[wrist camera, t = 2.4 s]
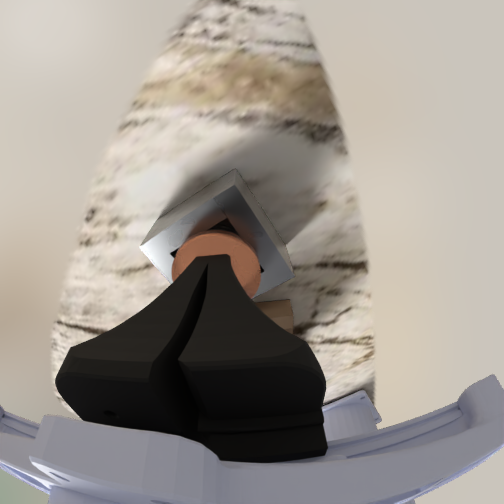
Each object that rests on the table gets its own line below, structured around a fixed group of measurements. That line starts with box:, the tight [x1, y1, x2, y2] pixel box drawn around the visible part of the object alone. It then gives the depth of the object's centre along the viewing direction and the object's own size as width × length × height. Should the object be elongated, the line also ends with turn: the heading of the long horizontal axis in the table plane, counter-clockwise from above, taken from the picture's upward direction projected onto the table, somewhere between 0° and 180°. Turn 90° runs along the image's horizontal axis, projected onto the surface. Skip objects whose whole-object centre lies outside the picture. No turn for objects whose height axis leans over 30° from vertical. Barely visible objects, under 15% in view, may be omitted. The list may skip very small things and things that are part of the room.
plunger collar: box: [139, 168, 295, 299], centre depth 14 cm, size 5×5×3 cm
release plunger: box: [171, 218, 261, 299], centre depth 13 cm, size 4×4×4 cm
